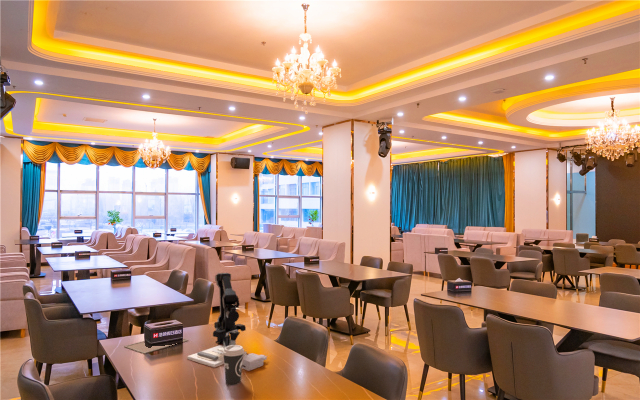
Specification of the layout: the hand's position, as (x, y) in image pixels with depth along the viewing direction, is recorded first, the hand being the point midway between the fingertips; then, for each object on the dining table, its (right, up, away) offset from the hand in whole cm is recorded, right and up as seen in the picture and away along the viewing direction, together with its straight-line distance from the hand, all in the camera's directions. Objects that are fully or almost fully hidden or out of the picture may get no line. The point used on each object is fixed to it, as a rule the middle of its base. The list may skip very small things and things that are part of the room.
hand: (229, 346), depth 229 cm
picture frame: (-44, -4, +14) cm, 46 cm away
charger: (+16, -3, -17) cm, 24 cm away
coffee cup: (+10, -2, -39) cm, 40 cm away
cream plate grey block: (0, -1, 0) cm, 1 cm away
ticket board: (-5, -3, -7) cm, 9 cm away
